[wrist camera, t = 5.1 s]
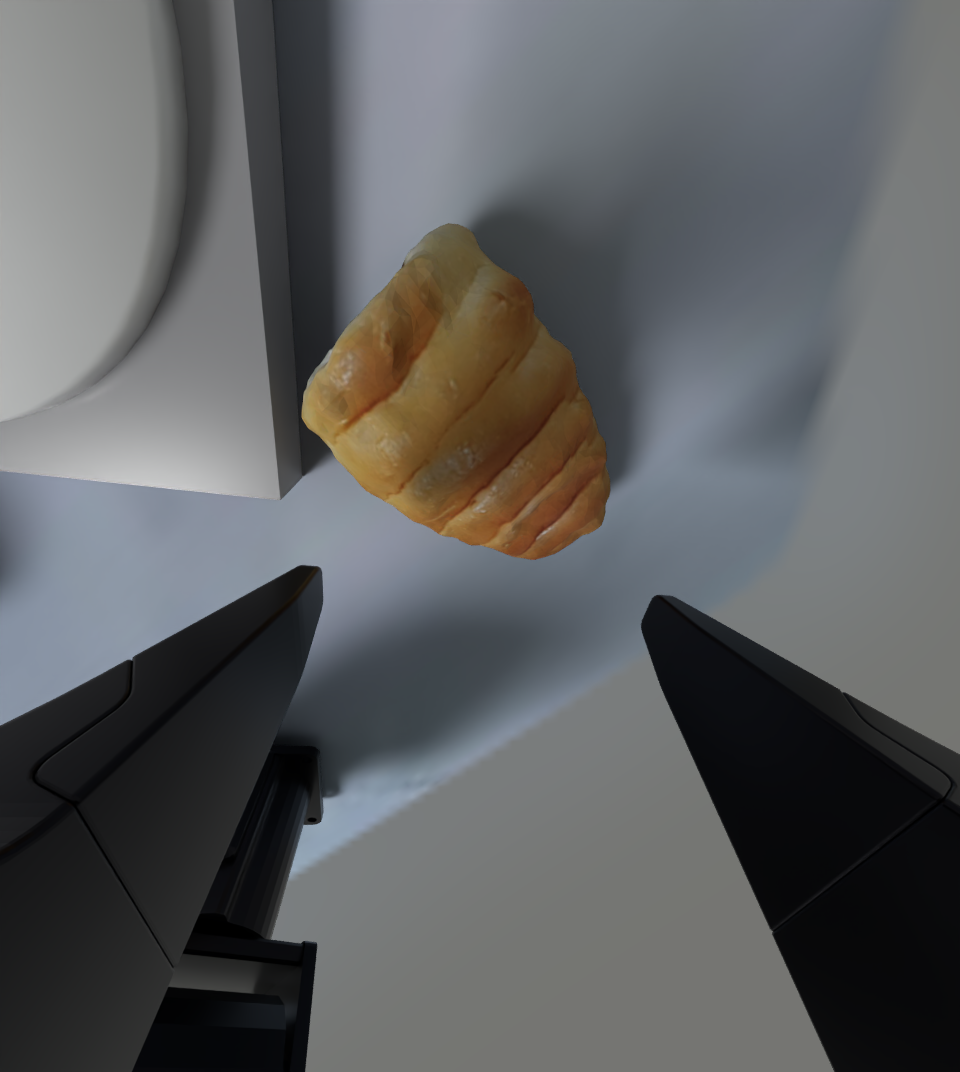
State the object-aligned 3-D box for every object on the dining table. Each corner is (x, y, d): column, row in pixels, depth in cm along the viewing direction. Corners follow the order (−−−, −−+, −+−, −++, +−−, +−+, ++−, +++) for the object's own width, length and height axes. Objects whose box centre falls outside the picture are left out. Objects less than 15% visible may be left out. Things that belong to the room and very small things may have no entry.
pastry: (638, 452, 13) (708, 491, 10) (503, 574, 15) (525, 642, 12) (439, 208, 10) (444, 143, 6) (290, 409, 11) (234, 441, 8)
